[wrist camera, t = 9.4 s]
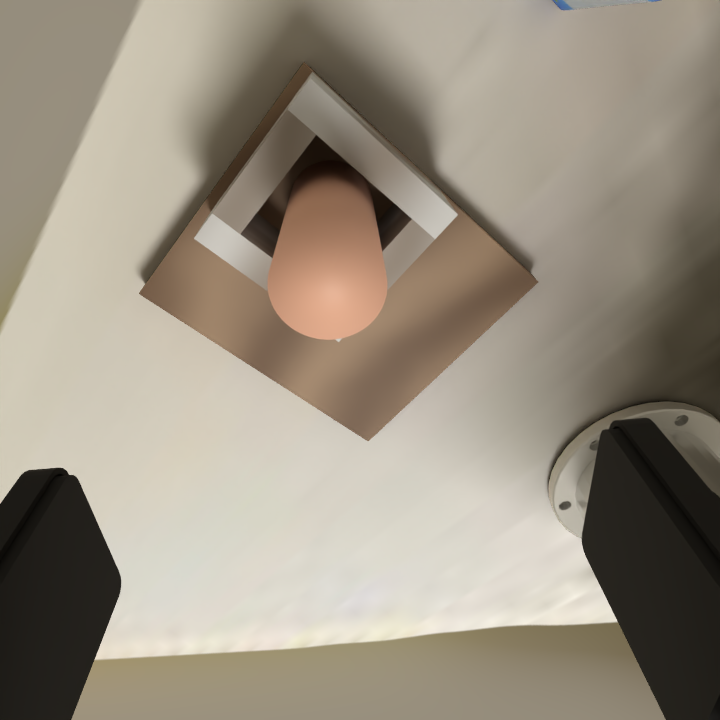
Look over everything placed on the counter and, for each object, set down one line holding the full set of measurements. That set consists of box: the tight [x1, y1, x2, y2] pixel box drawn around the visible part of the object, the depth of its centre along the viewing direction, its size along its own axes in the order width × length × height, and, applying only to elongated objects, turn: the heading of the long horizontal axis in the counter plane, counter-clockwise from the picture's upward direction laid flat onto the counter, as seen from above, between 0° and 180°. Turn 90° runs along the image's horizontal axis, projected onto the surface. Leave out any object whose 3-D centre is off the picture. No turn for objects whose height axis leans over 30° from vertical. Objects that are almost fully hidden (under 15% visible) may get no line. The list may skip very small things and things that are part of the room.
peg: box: [268, 160, 387, 340], centre depth 23 cm, size 4×4×10 cm
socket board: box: [139, 62, 538, 441], centre depth 28 cm, size 16×14×5 cm
